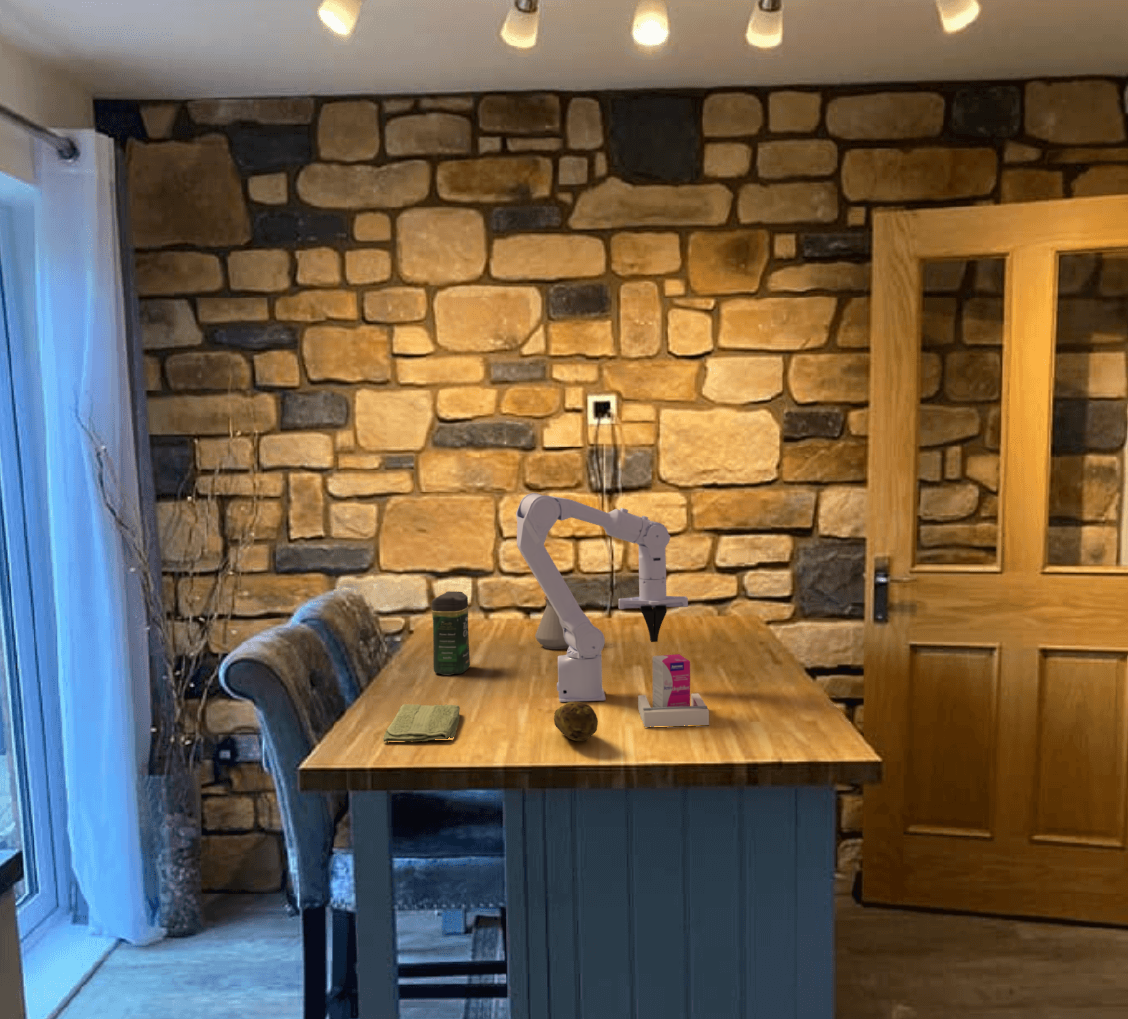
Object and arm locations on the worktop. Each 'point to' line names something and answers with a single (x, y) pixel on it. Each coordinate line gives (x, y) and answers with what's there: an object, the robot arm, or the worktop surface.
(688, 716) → the dock
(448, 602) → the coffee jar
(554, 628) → the coffee pot
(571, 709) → the potato
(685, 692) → the supplement box
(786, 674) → the worktop surface
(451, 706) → the washcloth
